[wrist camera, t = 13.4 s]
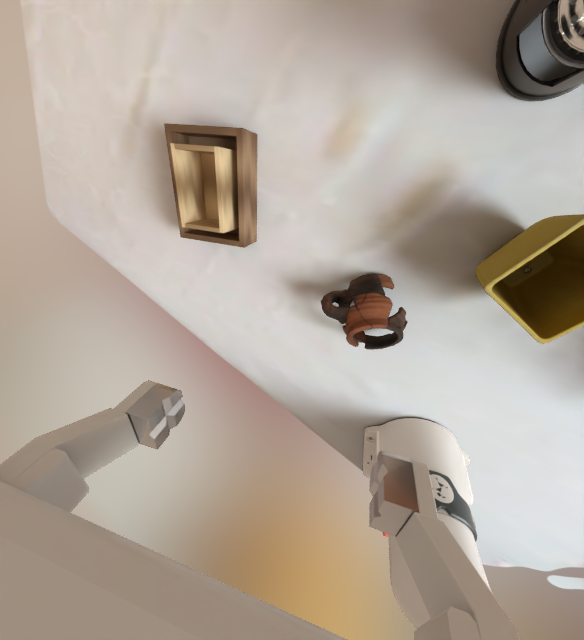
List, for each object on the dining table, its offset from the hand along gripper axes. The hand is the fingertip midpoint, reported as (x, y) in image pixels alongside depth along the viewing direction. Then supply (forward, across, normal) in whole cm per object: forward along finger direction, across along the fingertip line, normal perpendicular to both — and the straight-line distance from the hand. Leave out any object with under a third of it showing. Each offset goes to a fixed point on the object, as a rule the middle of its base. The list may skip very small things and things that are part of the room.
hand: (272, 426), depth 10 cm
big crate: (+29, +18, -6) cm, 35 cm away
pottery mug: (+29, -4, +7) cm, 31 cm away
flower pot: (+29, -20, -2) cm, 36 cm away
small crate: (+28, +18, -6) cm, 34 cm away
